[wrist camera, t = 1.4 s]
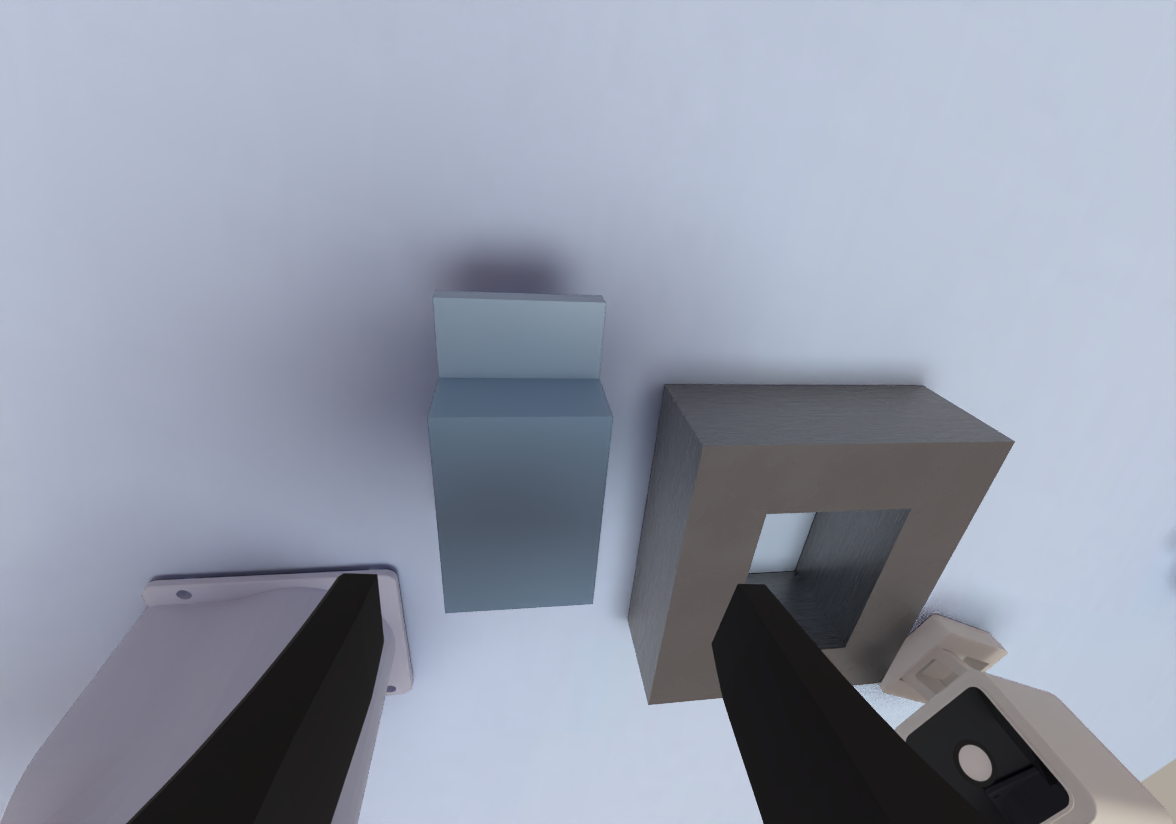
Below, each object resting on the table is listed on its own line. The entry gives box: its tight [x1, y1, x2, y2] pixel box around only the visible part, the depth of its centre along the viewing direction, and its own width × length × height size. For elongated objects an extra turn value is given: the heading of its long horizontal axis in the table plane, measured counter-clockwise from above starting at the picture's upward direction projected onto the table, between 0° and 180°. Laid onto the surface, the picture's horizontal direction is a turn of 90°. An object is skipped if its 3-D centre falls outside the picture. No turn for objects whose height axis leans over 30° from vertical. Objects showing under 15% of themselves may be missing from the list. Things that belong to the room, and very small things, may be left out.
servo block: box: [427, 290, 613, 613], centre depth 15 cm, size 4×10×7 cm, turn 176°
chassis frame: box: [628, 385, 1015, 705], centre depth 21 cm, size 11×13×4 cm
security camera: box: [878, 614, 1172, 824], centre depth 26 cm, size 6×7×10 cm
